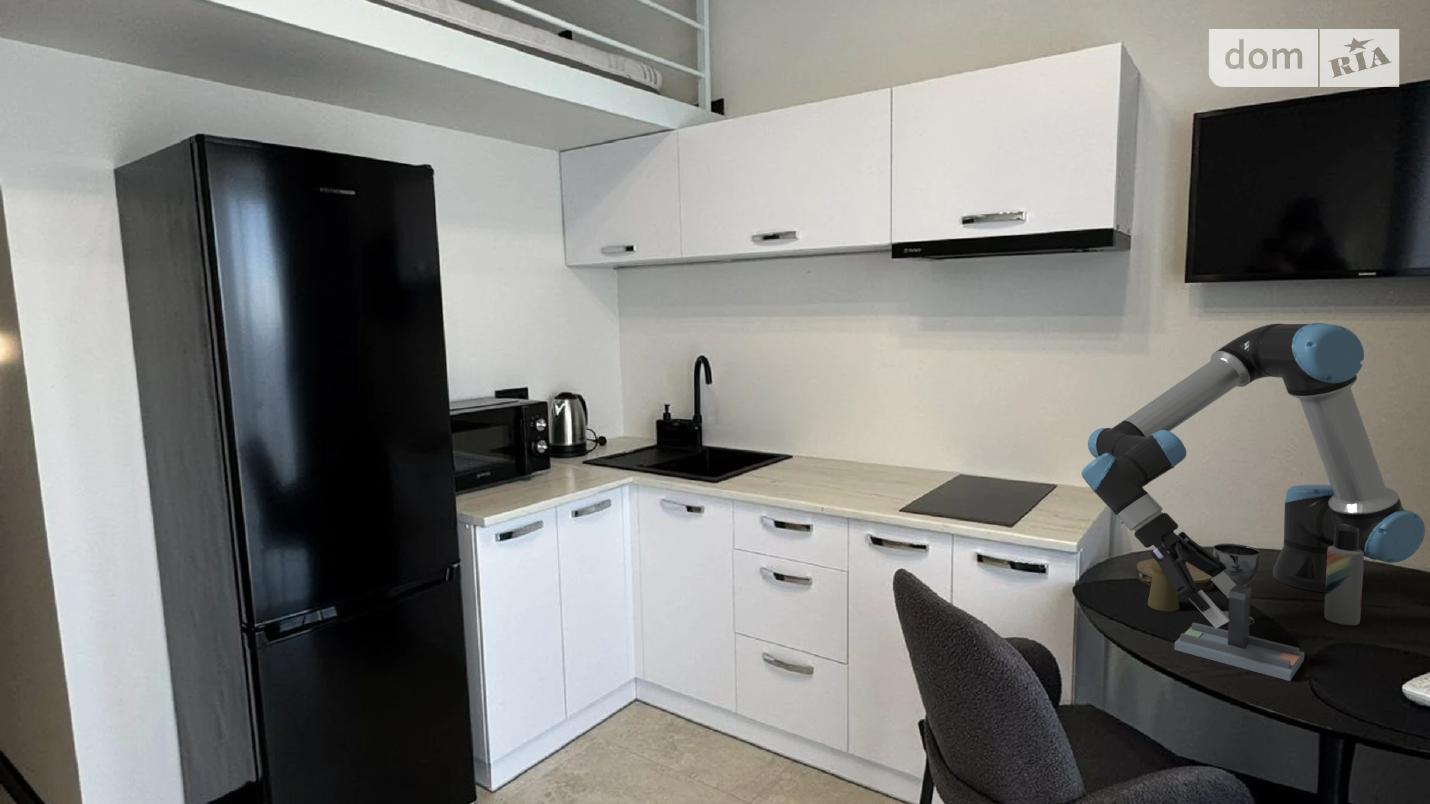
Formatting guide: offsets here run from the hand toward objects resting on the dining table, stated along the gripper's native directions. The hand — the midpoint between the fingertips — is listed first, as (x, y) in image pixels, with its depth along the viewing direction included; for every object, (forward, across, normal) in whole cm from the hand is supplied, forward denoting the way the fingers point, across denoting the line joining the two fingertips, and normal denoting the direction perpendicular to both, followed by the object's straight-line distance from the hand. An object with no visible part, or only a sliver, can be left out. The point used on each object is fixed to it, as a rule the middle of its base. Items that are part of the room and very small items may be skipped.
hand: (1233, 613), depth 139 cm
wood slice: (-8, -36, -21) cm, 42 cm away
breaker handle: (+5, -1, -4) cm, 6 cm away
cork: (-6, -17, -18) cm, 25 cm away
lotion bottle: (+14, -32, +2) cm, 35 cm away
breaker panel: (+6, -1, -5) cm, 8 cm away
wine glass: (+3, -20, -9) cm, 22 cm away
